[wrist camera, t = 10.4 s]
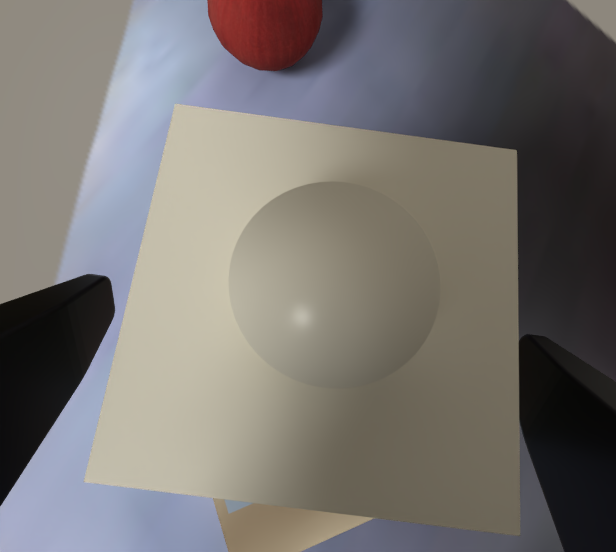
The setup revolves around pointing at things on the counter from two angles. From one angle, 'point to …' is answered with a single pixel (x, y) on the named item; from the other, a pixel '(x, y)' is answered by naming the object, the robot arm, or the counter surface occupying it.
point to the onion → (266, 30)
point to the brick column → (322, 325)
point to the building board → (280, 527)
